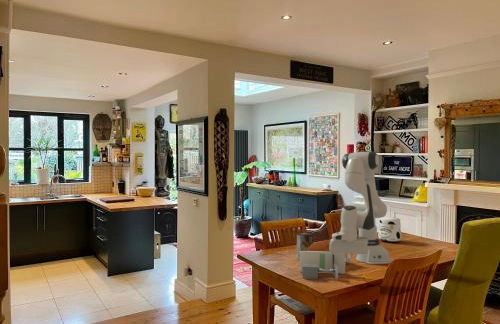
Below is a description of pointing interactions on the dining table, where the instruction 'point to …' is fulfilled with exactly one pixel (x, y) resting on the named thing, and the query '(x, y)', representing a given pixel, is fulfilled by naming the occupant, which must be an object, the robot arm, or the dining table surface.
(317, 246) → the bread
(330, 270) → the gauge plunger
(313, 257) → the gauge housing
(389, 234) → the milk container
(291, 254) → the dining table surface
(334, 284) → the dining table surface
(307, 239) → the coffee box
